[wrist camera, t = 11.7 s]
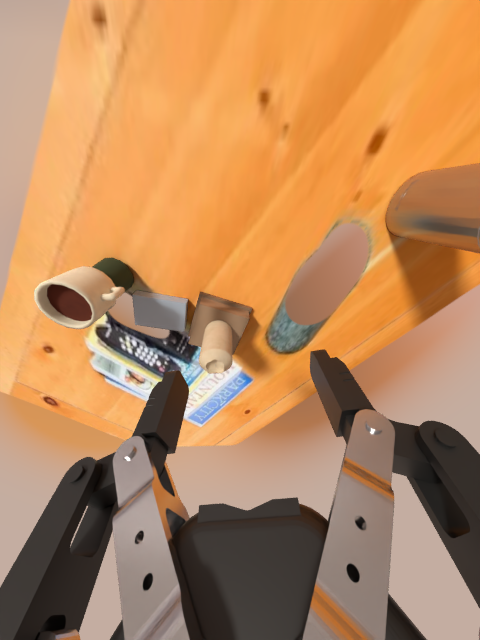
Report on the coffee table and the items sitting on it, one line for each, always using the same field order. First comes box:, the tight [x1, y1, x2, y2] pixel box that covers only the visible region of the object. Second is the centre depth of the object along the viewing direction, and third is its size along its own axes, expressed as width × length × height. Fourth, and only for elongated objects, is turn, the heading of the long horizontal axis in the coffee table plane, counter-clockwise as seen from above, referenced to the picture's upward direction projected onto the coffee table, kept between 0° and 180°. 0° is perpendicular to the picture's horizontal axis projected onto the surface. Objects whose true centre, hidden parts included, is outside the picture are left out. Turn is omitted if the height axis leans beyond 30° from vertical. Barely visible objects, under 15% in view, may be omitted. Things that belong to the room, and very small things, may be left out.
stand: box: [188, 292, 252, 355], centre depth 40 cm, size 11×11×4 cm
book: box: [132, 290, 188, 332], centre depth 39 cm, size 10×7×2 cm
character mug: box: [34, 258, 134, 329], centre depth 30 cm, size 11×7×13 cm, turn 94°
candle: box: [199, 320, 232, 374], centre depth 34 cm, size 6×6×10 cm
